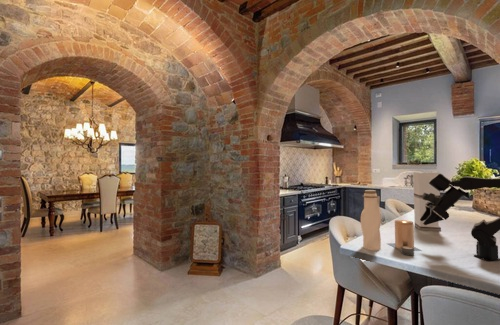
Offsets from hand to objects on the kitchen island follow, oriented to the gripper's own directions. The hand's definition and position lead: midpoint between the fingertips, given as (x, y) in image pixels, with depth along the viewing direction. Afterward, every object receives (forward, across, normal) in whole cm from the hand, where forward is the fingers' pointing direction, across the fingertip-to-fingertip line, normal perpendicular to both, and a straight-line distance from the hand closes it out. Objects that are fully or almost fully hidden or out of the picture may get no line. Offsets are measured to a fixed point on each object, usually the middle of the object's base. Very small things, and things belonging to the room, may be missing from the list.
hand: (422, 222), depth 122 cm
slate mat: (+15, 0, +3) cm, 15 cm away
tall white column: (+3, -48, +15) cm, 50 cm away
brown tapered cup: (+14, +1, +3) cm, 15 cm away
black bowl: (+15, +10, +3) cm, 18 cm away
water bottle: (+24, +6, -7) cm, 26 cm away
